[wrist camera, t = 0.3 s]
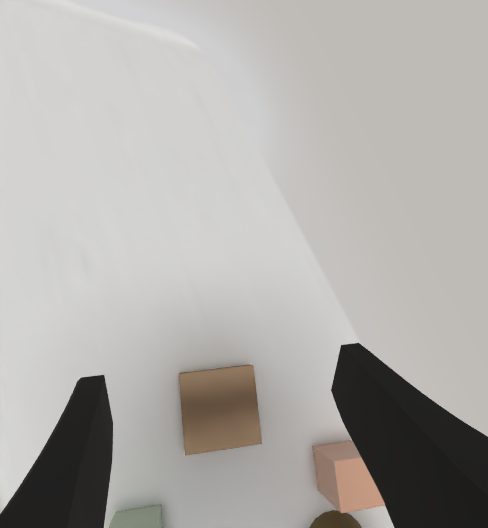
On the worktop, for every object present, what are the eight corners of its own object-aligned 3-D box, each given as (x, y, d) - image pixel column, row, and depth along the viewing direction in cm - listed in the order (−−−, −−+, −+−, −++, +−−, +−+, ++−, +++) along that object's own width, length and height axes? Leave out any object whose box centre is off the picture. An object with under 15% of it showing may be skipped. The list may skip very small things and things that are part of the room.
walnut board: (256, 437, 40) (261, 443, 37) (184, 447, 39) (185, 455, 36) (248, 364, 41) (253, 365, 38) (179, 372, 40) (178, 374, 37)
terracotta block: (356, 483, 40) (385, 505, 34) (318, 490, 39) (341, 513, 34) (350, 440, 41) (377, 454, 35) (312, 446, 40) (334, 461, 34)
